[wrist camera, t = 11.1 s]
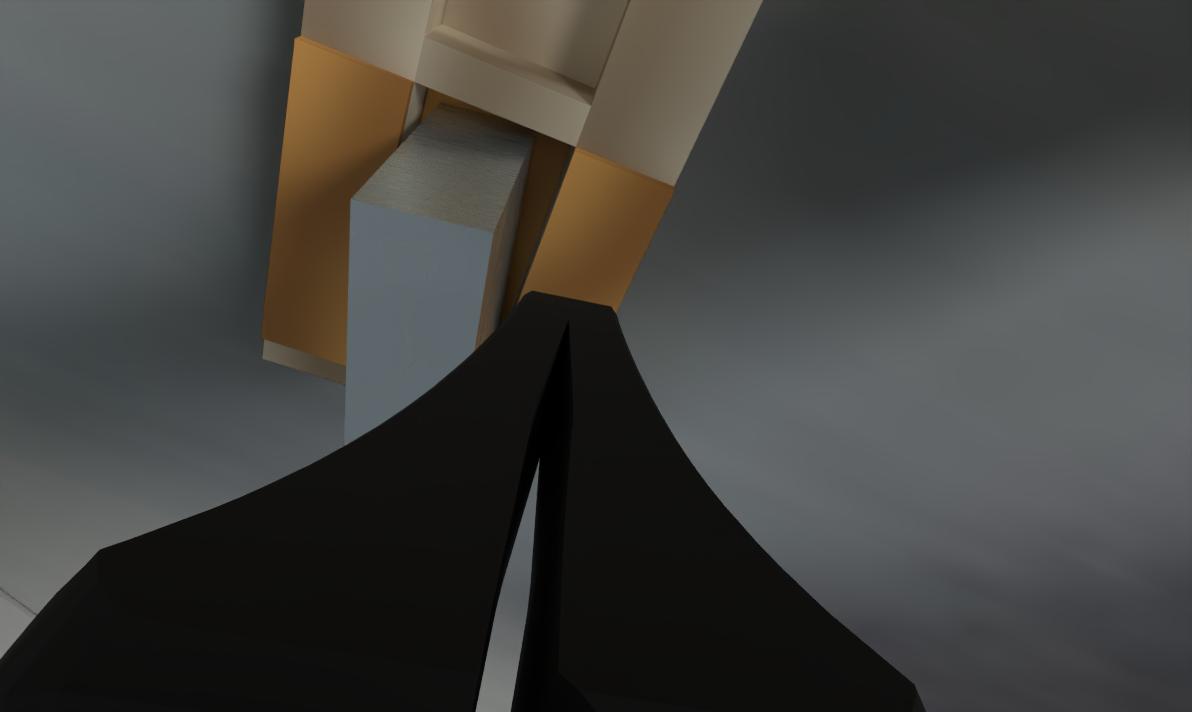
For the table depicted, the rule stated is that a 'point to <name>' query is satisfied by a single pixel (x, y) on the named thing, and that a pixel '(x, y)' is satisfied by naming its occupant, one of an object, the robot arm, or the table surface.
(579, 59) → the rack
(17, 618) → the rounded white slab
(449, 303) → the brushed gray metal block
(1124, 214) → the table surface
